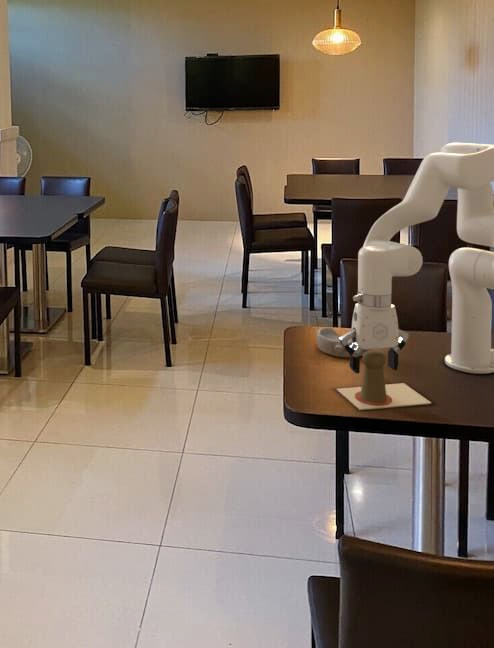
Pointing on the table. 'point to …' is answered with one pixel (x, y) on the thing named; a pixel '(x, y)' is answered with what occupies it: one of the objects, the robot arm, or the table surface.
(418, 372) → the table surface
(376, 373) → the cork
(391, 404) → the placemat
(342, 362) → the table surface
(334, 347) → the dish
